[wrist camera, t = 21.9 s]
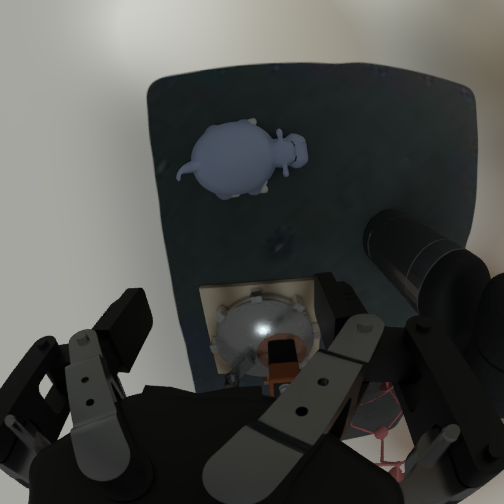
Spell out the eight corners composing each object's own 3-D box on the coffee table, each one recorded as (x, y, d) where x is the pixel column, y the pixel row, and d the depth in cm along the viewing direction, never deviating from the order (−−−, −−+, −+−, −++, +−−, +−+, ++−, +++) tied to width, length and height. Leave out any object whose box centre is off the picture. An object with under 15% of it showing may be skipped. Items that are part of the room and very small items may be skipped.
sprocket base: (320, 276, 42) (325, 286, 39) (316, 366, 49) (319, 379, 46) (200, 285, 43) (195, 296, 40) (219, 373, 50) (218, 386, 47)
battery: (269, 368, 44) (271, 413, 35) (267, 339, 42) (269, 385, 33) (294, 366, 44) (300, 411, 35) (294, 337, 42) (302, 383, 32)
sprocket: (251, 266, 40) (250, 291, 33) (338, 322, 44) (350, 350, 37) (188, 347, 46) (179, 376, 39) (268, 387, 50) (269, 415, 43)
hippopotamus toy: (306, 187, 37) (322, 199, 28) (202, 204, 38) (185, 221, 30) (295, 112, 33) (307, 100, 25) (187, 131, 35) (166, 126, 26)
